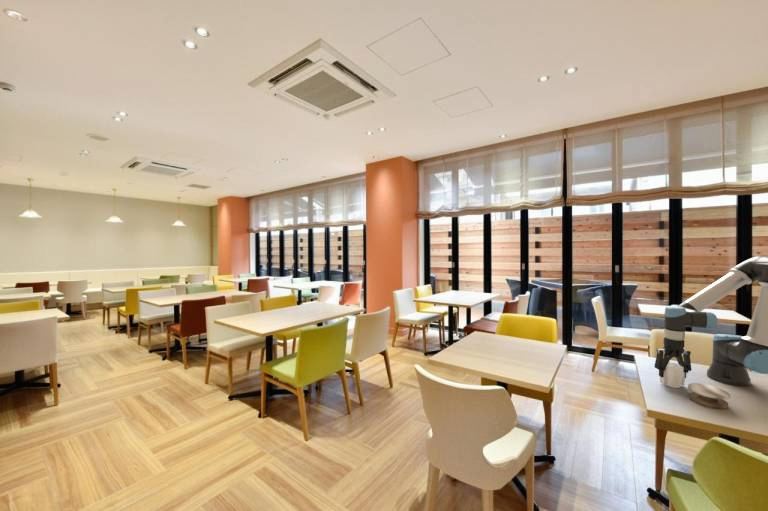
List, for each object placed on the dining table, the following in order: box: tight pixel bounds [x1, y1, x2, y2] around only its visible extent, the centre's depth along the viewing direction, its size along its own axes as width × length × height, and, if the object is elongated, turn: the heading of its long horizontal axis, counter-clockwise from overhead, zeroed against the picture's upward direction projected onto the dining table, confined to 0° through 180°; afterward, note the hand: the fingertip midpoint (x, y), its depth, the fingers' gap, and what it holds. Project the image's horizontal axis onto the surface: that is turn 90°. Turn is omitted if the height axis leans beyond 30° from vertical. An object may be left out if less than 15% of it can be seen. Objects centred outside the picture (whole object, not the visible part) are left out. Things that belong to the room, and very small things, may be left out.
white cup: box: [665, 361, 684, 389], centre depth 155 cm, size 8×8×10 cm
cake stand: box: [687, 382, 731, 410], centre depth 139 cm, size 13×13×6 cm
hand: (672, 383), depth 155 cm, fingers closed on white cup, 7 cm apart
